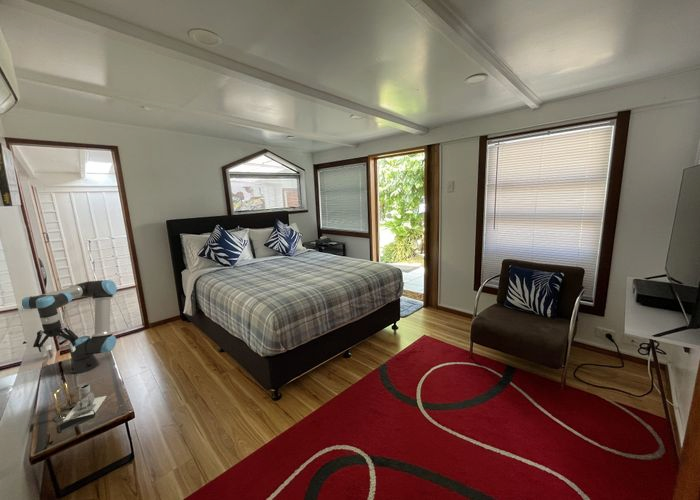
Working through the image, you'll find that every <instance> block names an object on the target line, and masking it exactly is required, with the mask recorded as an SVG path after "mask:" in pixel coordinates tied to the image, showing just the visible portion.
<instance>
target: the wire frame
mask: <svg viewBox="0 0 700 500" xmlns="http://www.w3.org/2000/svg"><path fill="white" fill-rule="evenodd" d="M63 388H64V391H65V395H66V398H67V403H68V404H66V405H65V406H64V410H70V409H73V408H74V407H75V405H76V404H77V402H76V401H75V402H72V398H71V395H70V391H69V389H68V384H67V382H66V381H64V382H63V384H62V385H61V386H60V387H59V388H58V389H57V390H56V391H54V393H52V398H53V401H54V403H55V409H56V412H57V415H58V416H56V417H55V418H54V420H53V421H54V422H61V421H63V420H64V419H65V418H66V416H67V415H68V414H66V413H63V414H62V412H61V408H60V404H59V401H58V398H57V397H58V396H57V395H58V394H59V392H60V391H61V390H62V389H63Z"/></svg>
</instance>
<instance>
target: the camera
mask: <svg viewBox="0 0 700 500" xmlns="http://www.w3.org/2000/svg"><path fill="white" fill-rule="evenodd" d="M79 391H80V393H81V398H80V407H81V409H78V410H76V411H75V413H74V414H73V415H76V414H79V413H82V412H85V411H88V410H92V409H93V408H94V407H95V405H96V404H94V405H93V402H94V399H95V398H96V397H95V393H94V392H93V391H91V387H90V384H89V383H85V384H82V385H81V386H80V387H79Z"/></svg>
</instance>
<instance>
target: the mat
mask: <svg viewBox="0 0 700 500" xmlns="http://www.w3.org/2000/svg"><path fill="white" fill-rule="evenodd" d="M106 398H107V395H104V396H98V397H95V399H94V402H93V405H94V404H96V405H95V407H94V408H93V409H92V411H91V410H88V411H89V412H88V411H85V412H82V413H79V414H76V415H73V414H74V413H75V411H76V410H78V409H81V407H80V401H78V402H76V405H75V406H74V407H72V408H71V411H69V412H68V414H66V415H67V416H66V418H64V419H63V420H62V423H64V422H66V421H68V420H70V419H73V418H75V417H76V418H78V417H82V416H87V415H91V414H94V412H95V413H96V412H97V411H98V409H99V408H100V406H101V405H102V404H103V402H104V401H105V400H106ZM93 410H94V411H93ZM86 412H87V413H86ZM84 413H85V414H84ZM79 415H80V416H79ZM77 416H78V417H77Z"/></svg>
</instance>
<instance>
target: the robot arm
mask: <svg viewBox="0 0 700 500" xmlns="http://www.w3.org/2000/svg"><path fill="white" fill-rule="evenodd" d="M117 287H118V286H117V284H116V283H115V282H114V281H113V280H110V279H103V280H92V281H91V280H90V281H85V282H84V281H83V282H80V283H77V284H73V285H70V286H69V287H66V288H62V289H59V290H55V291H51V292H46V293H42V294H39V295H36V296H35V295H33V296H26V297H24V298H23V299H22V300H21V301H22V306H23V308H22V309H24V310H33V309H37V311H38V314H39V319H40V320H39V321H40V322H41V327H42V330H39V331H37V332H36V337H35V340H34V343H33V346H32V347H33V348H37V349H38V352H39V353H41V355H42V356H41V357H42V358H45V357H47V355H48V353H47V348H46V345H45V343H46V341H47V340H49V338H52V337H61V338H63V339H65V340H67V341H68V350H69V353H70V354H69V355H70V358H71V361H72V362H71V365H70V366H71V367H70V371H71V373H72V374H81V373H85V372H89V371H90V370H92V369H94V368H95V367H97V366H99V364H100V363H99V360H98V358H97V357H96V356H95V355H97V354H99V355H100V354H106V353H110V352H111V351H113V350H114V349H115V347H116V343H117V338H116V336H115V335H113V332H111V299H112V298H113V296H114V295H115V294H116V293H117V290H118V289H117ZM87 297H91V298H92V300H94V333H93V335H91V336H89V335H82V336H80V337H79V336H78V335H77V334H75V332H73V331H72V330H71V329H70V326H68V325H66V326H65V327H62V324H61V320H60V315H59V312H58V309H59V308H61V307H64V306H66V305H68V304H69V303H71V302H72V301H73V299H78V298H87ZM22 306H21V307H22ZM43 335H45V336H44V337H43V338H42V336H43ZM41 339H42V340H41Z"/></svg>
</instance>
